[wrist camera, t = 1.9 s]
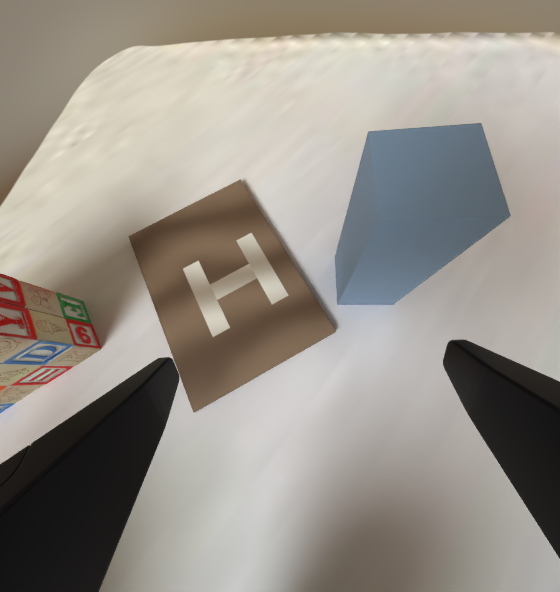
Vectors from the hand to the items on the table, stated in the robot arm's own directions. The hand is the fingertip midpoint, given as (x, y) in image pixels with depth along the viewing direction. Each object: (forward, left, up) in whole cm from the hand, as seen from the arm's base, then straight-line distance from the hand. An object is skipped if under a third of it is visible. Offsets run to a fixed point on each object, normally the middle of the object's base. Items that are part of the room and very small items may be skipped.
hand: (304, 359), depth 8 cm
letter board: (+11, +3, -14) cm, 18 cm away
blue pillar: (+4, -9, -14) cm, 17 cm away
